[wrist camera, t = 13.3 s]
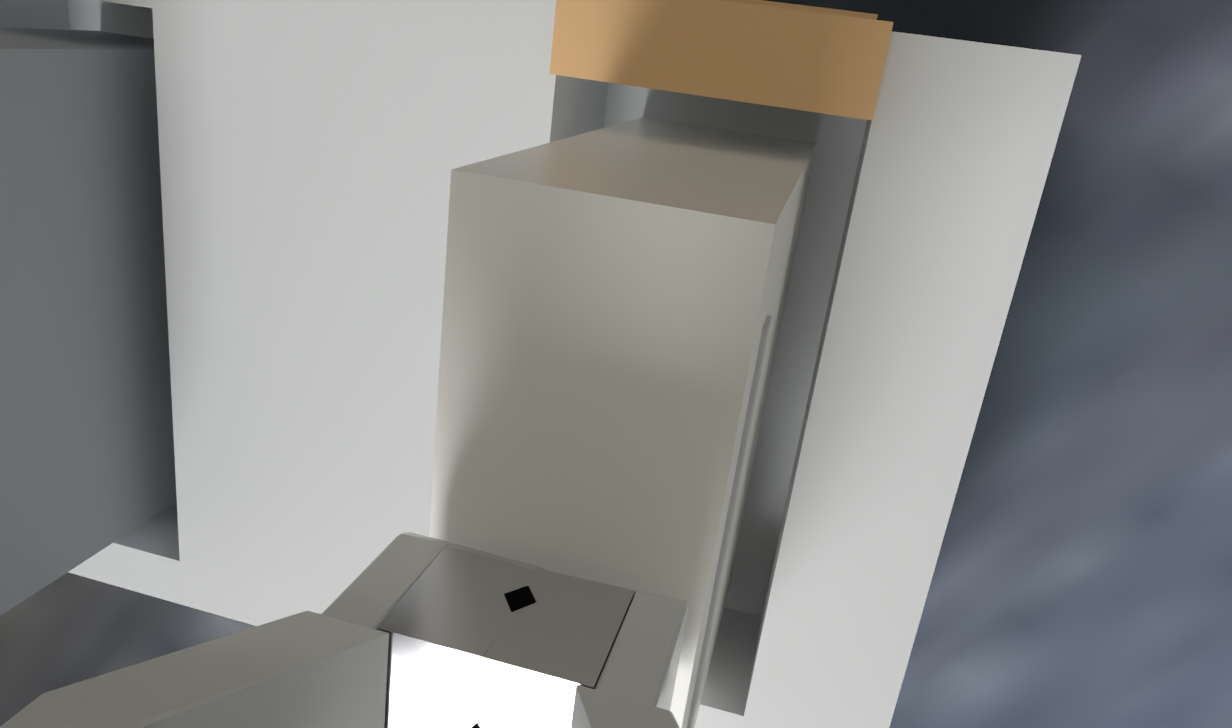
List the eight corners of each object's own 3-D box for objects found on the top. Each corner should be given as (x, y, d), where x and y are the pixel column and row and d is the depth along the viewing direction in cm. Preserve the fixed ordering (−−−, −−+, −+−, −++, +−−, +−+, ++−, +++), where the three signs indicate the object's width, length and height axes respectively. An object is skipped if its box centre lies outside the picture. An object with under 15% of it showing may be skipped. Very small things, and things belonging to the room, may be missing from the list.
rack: (866, 657, 19) (870, 1034, 12) (58, 450, 23) (-322, 635, 16) (1029, 43, 15) (1198, 27, 7) (5, -85, 19) (-552, -178, 11)
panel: (639, 117, 16) (446, 168, 8) (819, 144, 15) (781, 226, 8) (584, 545, 19) (406, 860, 11) (733, 582, 18) (646, 939, 11)
